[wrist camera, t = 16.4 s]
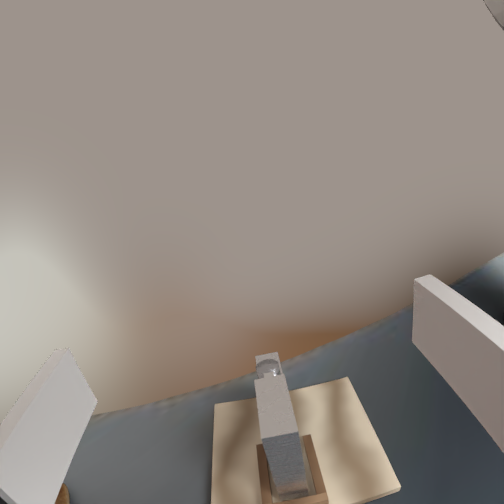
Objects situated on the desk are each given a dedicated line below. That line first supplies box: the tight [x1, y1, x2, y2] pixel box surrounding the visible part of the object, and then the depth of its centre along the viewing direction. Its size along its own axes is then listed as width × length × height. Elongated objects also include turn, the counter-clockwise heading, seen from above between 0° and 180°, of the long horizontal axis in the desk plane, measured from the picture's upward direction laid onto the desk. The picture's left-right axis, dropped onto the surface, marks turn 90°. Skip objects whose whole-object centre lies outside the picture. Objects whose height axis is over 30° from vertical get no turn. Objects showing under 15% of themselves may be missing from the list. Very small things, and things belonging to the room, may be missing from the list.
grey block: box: [254, 359, 309, 502], centre depth 29 cm, size 3×11×12 cm, turn 4°
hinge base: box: [211, 377, 401, 504], centre depth 34 cm, size 20×21×2 cm
